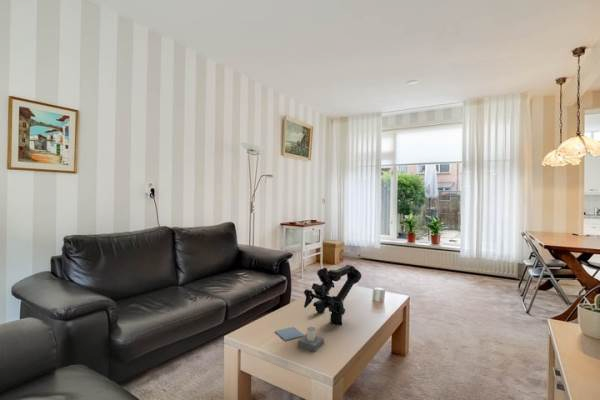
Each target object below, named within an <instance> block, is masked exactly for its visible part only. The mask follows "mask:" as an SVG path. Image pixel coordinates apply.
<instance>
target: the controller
mask: <svg viewBox="0 0 600 400" xmlns="http://www.w3.org/2000/svg"><path fill="white" fill-rule="evenodd" d="M321 303H322V300H319V299H318V300H317V301H315V302H313V304H312V306H313V307H315V311H316V312H317V310H318V308H319V306H320V305H321ZM325 310H326V309H324V310H322V311H320V312H317V313H319V314H322V313H324V312H325Z"/></svg>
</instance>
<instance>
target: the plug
mask: <svg viewBox="0 0 600 400" xmlns="http://www.w3.org/2000/svg"><path fill="white" fill-rule="evenodd" d="M306 334H307V341H310V342H314V341H315V336H316V327H314V326H312V325H310V326H308V327H307V332H306Z"/></svg>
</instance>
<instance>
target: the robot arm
mask: <svg viewBox="0 0 600 400" xmlns="http://www.w3.org/2000/svg"><path fill="white" fill-rule="evenodd" d="M316 273H317V275H316V276H317V277H318V278H319V280H320V282H321V284H319V283H314V282H313V283H312V285H311V287H310V288H311V290H310V289H307V288H306V289H304V291H303V294H304V295H305V302H304V305H303V307H304V309H305V308H307V307H309V305H310V304H311V303H312V302H313V300H314V299H317V300H318V301H319V300H322V303H321V305H320V306H319V308H318V310H317V311H316V312H317V313H318V312H320V311H322V310H324V309H325V310H326V309H328V312H330V315H329V316H330V319H329V320H330V323H331V325H341V326H342V325H343V315H344V314H345V313H346V309H345V308H344V305H345V304H344V301H345V299H346V297H347V296H348V294H349V293H350V291H351V289H352V288H353V287H354V285H355V284H357V283H358V282H360V280H361V279H362V273H361V272H360V271H359V270H358V269H357V268H355V267H354V265H350V264H346V265H345V266H342V267H340V268H337V269H329V270H328V267H323V268H321V269H319V270H318V271H317V272H316ZM343 276H346V280H345V282H344V283H343V286H342V287H341V288H340V290H339V291H338V293H337V295H336V296H334V295H332V296H330V290H331V289H332V288H333V289H335V283H334V282H339V281H340V280H341V279H342V277H343ZM312 290H313V291H312Z"/></svg>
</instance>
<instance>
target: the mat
mask: <svg viewBox="0 0 600 400" xmlns="http://www.w3.org/2000/svg"><path fill="white" fill-rule="evenodd" d="M274 333H276V335H278V336H279V337H280V338H281V339H283V340H284V341H285V342H287V341H291V340H295V339H301V338H302V337H303V336H304V335H305V334H304V333H303V332H301V331H300V330H299V329H297V328H296V327H295V326H291V327H287V328H282V329H278V330H275V331H274Z"/></svg>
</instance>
